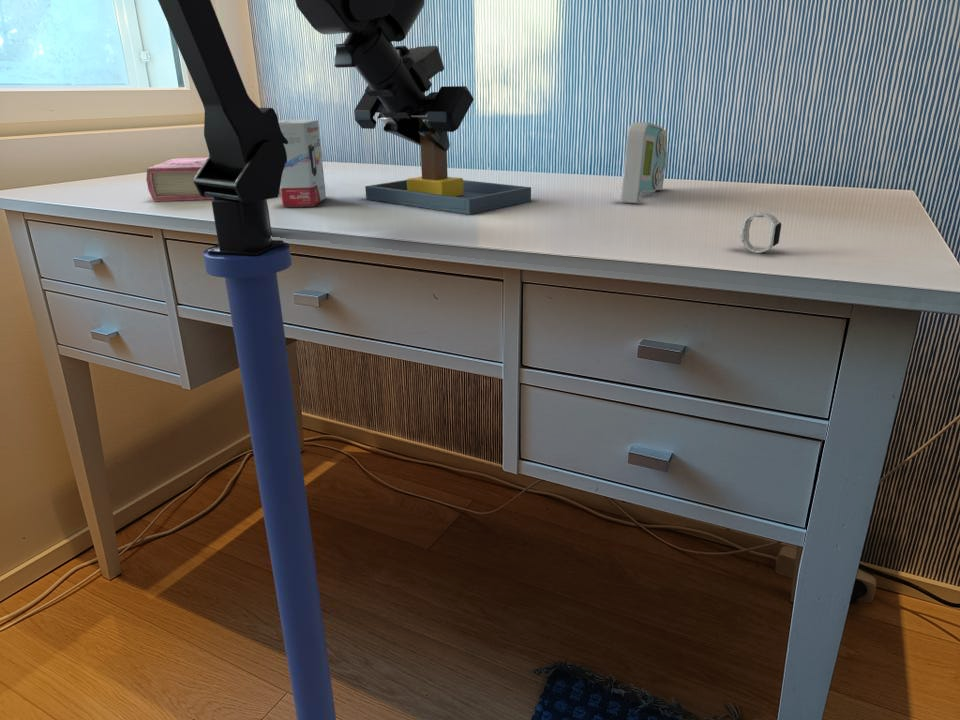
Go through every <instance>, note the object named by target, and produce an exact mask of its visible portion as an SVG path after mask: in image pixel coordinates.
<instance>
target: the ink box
mask: <svg viewBox="0 0 960 720" xmlns="http://www.w3.org/2000/svg"><path fill="white" fill-rule="evenodd" d="M278 122H279V126H280V129H281V132H282V134H283V136H284V137H285V138H286V139H287V141H288V144H284V146H285V149H286V153H287V163H285V166H284V170H283V172H282V177H281V183H280V196H281V197H280V198H281V207H283V208H295V207H296V208H300V207H301V208H305V207H315V206H317V205H318V204H319V203H321V202H322V201H324V200H326V198H327V192H326V184H325V183H326V182H325V175H324V165H323V155H322V144H321V136H320V126H319V120H318V119H282V120H278Z"/></svg>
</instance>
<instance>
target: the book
mask: <svg viewBox="0 0 960 720" xmlns="http://www.w3.org/2000/svg"><path fill="white" fill-rule="evenodd" d="M207 158H208V157H178V158H175V157H174V158H172V159H169V160H163V161H164V162H161V163H158V164H155V165H154V164H153V165H151V166H149V167H147V168H146V179H145V180H146V185H147V190H148V192H149V195H150V197H151V199H152V201H153V202H171V201H199V200H213V198H214V197H202V196H201V195H200V194H199V192H198V190H197V188H196V186H195V184H194V182H193V180H194V178H195V176H196V175H197V173H198V172H199V170H200V169H201V167H202V166H203V164H204V163H205V161H206V160H207Z"/></svg>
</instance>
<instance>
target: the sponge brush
mask: <svg viewBox="0 0 960 720" xmlns="http://www.w3.org/2000/svg"><path fill="white" fill-rule="evenodd" d="M422 119H423V117H419V129H420V127H421V125H422V124H423V120H422ZM419 147H420V148H419V149H420V166H421V168H420V169H421V176H416V177H412V178H406V180H407V191H415V192H423V193H431V194H439V195H447V196H460V195H463V180H464V178H463V177H453V176H449V175H448V153H447V151H448V150H447V151H444V150H443V149H441V148H439V147H438V146H437V145H435V144H434V143H432V142H431V141H429V140H428V139H427V138H425V137H424V136H422V135H421V134H420V145H419Z"/></svg>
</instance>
